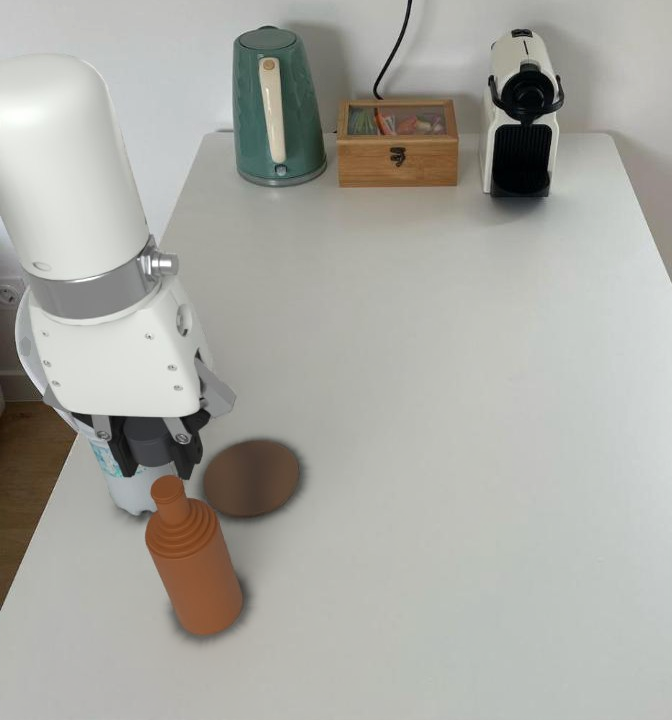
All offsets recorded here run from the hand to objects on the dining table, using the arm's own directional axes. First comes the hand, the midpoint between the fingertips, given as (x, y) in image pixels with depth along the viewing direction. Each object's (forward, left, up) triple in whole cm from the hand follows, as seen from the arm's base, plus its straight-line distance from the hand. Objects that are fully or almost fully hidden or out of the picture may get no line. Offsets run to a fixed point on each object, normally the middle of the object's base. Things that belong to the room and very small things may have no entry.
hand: (162, 462), depth 62 cm
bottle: (-2, +15, -20) cm, 25 cm away
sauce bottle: (0, 0, -20) cm, 20 cm away
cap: (0, 0, +1) cm, 1 cm away
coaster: (+8, +12, -20) cm, 25 cm away
